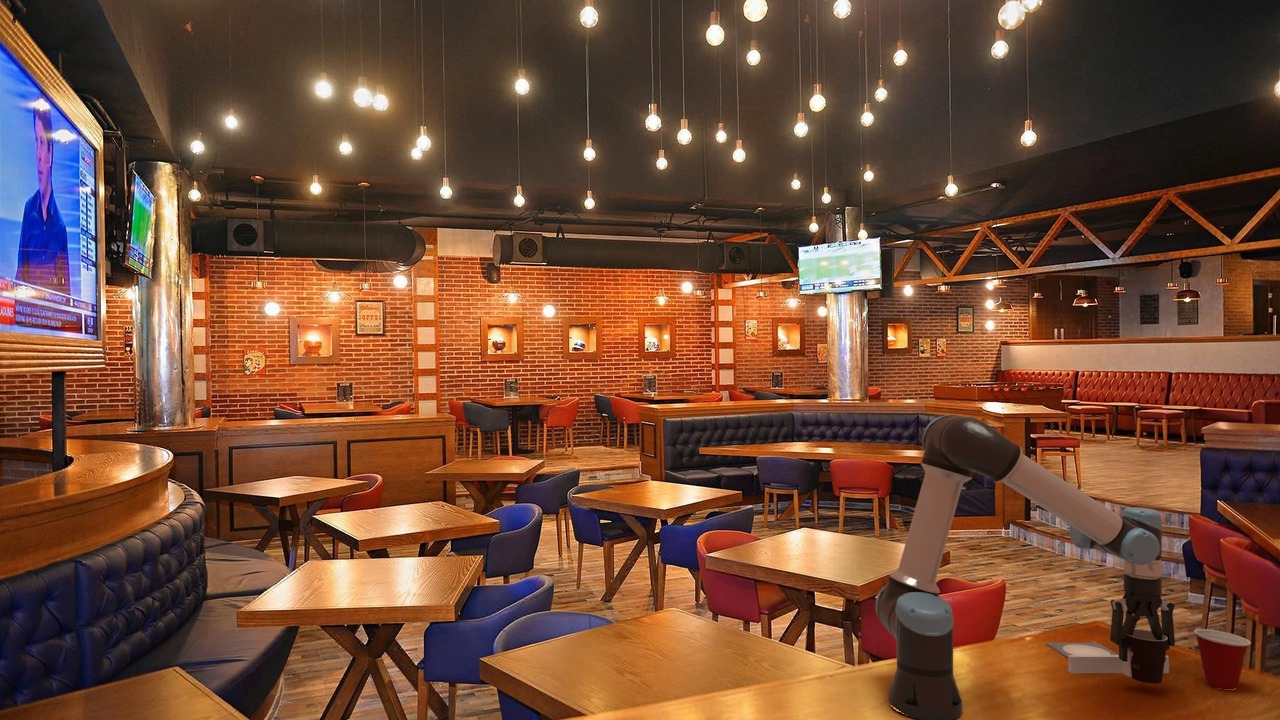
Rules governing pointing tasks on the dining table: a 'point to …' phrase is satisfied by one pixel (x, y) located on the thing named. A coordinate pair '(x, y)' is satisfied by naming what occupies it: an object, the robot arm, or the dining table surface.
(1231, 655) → the plastic cup
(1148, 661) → the coffee mug
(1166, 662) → the low wall
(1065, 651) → the mat
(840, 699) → the dining table surface
